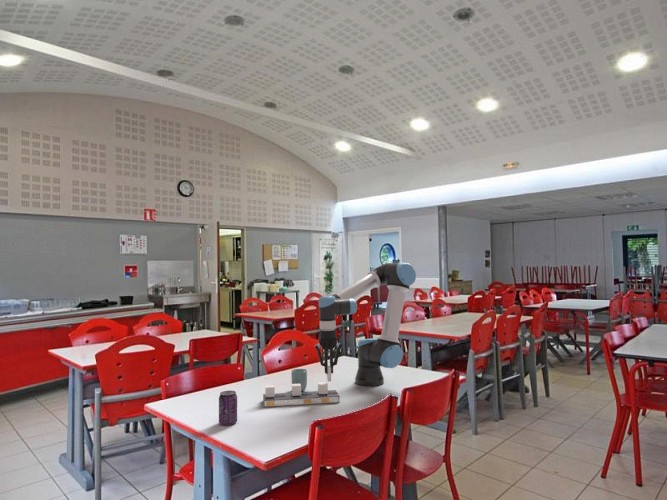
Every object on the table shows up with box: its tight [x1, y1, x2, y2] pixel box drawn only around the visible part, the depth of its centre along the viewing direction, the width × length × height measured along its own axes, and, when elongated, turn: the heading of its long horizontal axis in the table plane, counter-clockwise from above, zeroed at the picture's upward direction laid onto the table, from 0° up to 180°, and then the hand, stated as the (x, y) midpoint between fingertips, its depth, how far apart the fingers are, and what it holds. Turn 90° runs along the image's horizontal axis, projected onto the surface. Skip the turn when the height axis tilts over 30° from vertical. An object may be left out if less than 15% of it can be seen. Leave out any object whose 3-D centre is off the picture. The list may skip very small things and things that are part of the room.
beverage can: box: [218, 390, 238, 426], centre depth 177 cm, size 7×7×12 cm
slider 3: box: [317, 381, 329, 394], centre depth 207 cm, size 4×4×4 cm
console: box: [262, 389, 340, 408], centre depth 205 cm, size 34×10×3 cm, turn 100°
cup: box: [290, 368, 308, 392], centre depth 224 cm, size 8×8×10 cm
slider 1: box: [264, 384, 276, 397], centre depth 203 cm, size 4×4×4 cm
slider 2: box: [291, 383, 302, 396], centre depth 205 cm, size 4×4×4 cm
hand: (329, 380), depth 208 cm, fingers closed
